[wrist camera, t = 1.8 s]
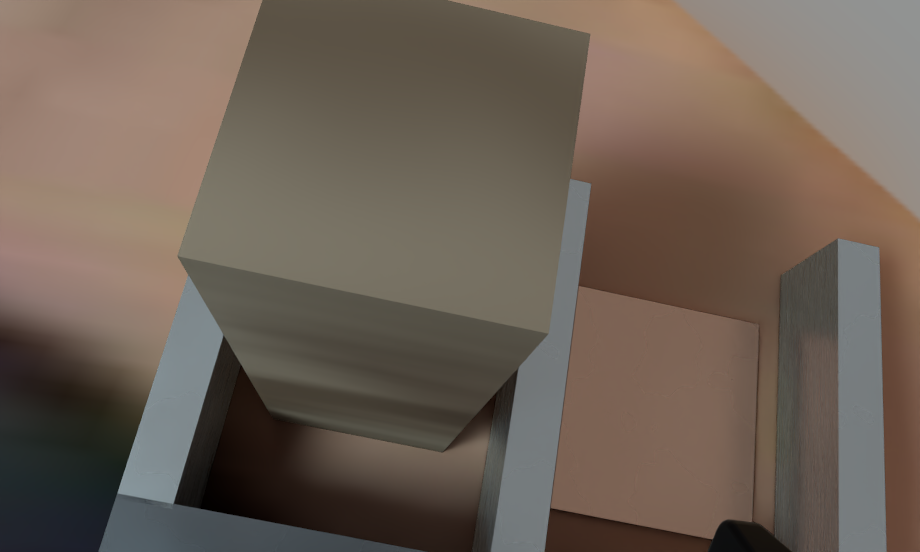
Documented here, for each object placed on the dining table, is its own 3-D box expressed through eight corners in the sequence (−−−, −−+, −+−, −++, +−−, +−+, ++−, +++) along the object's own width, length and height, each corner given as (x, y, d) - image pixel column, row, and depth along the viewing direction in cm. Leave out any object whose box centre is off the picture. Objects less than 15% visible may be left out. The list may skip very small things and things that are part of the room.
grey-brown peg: (442, 452, 21) (548, 333, 10) (273, 419, 20) (177, 256, 9) (471, 294, 22) (590, 34, 11) (314, 261, 22) (276, -40, 11)
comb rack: (814, 676, 20) (890, 697, 17) (136, 551, 19) (98, 551, 16) (817, 283, 24) (878, 247, 21) (256, 161, 23) (242, 106, 20)
